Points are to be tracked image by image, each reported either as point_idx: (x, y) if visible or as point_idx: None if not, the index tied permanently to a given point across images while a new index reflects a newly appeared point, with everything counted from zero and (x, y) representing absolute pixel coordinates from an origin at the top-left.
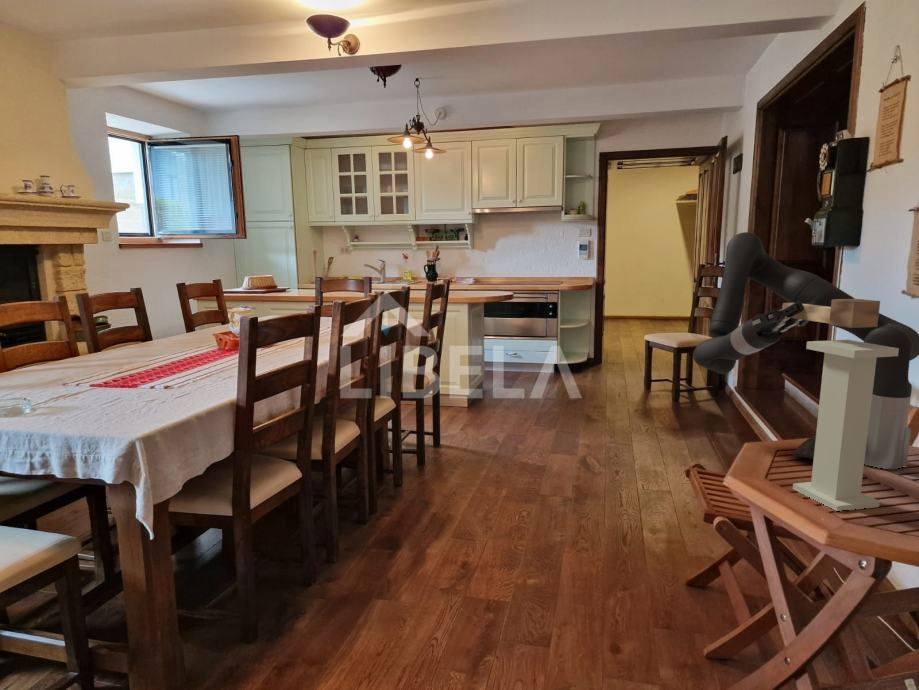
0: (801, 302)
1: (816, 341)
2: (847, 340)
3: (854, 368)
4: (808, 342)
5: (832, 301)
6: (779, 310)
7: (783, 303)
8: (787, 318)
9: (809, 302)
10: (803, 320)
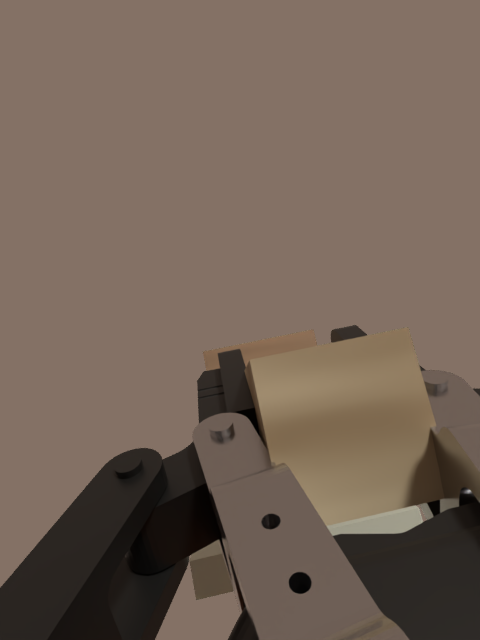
0: (334, 336)
1: (373, 515)
2: (211, 549)
3: None
4: (415, 509)
5: (314, 336)
6: (478, 398)
7: (405, 332)
8: None
9: (242, 357)
10: (148, 629)
